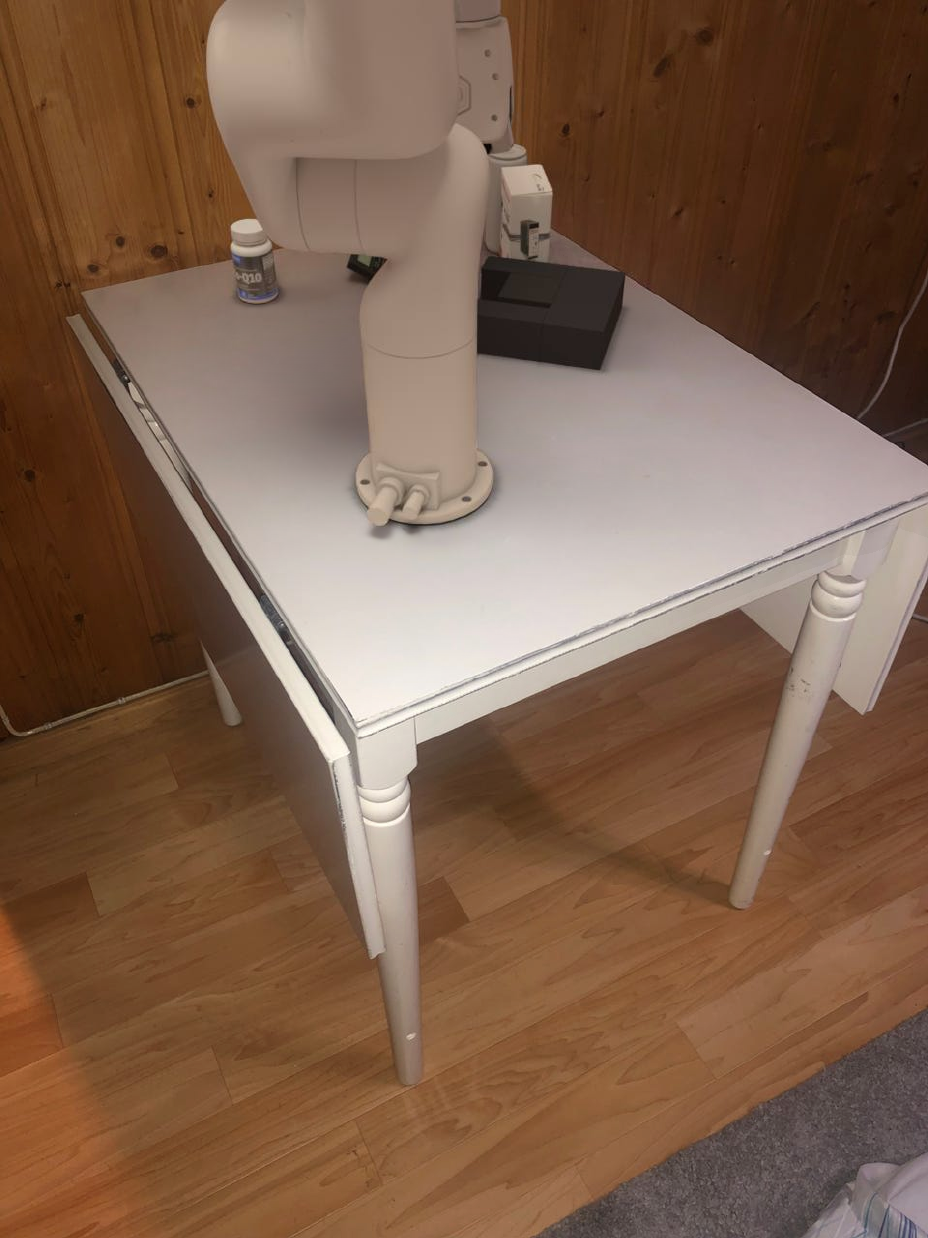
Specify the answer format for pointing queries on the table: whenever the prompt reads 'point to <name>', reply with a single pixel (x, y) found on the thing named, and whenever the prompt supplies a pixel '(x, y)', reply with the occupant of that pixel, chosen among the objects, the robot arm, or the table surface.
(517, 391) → the table surface
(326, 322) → the table surface
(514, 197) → the ink box
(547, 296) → the black block
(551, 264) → the base pad
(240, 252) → the pill bottle
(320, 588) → the table surface
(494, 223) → the beverage can
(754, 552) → the table surface
